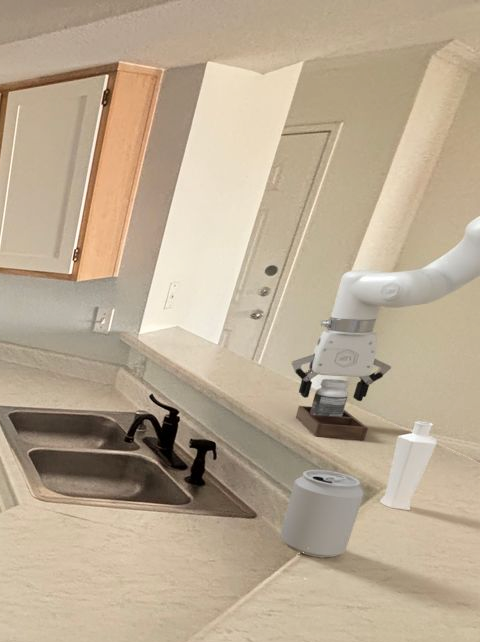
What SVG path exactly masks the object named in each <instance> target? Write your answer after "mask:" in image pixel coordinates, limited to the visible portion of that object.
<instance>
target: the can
mask: <svg viewBox="0 0 480 642" xmlns="http://www.w3.org/2000/svg"><path fill="white" fill-rule="evenodd" d="M361 484H362V483H361V481H360V480H359V479H357V478H356V477H355V476H352V475H350V474H349V475H348V474H346V473H342V472H339V471H338V472H337V471H333V470H325V469H309V470H305V471H303V472H302V476H300V477H298V478H296V479H295V480H294V483H293V485H292V489H291V492H290V493H291V494H290V497H289V501H288V505H287V508H286V511H285V515H284V518H283V522H282V526H281V530H280V533H279V538H280V540H281V541H282V542H283V543H284V544H285V546H287V548H288V549H291V550H293V551H294V552H296V553H299V554H302V553H303V552H304V553H303V555H306V556H309V557H310V556H311V557H314V558H322V559H324V557H330V558H333V557H336V556H339V555H343V554H344V553H345V552H346V550H347V547H348V544H349V542H350V538H351V534H352V533H353V530H354V527H355V526H354V525H355V523H356V521H357V520H356V519H357V516H358V514H359V510H360V507H361V504H362V501H363V498H364V495H365V492H364V491H363V489H362V488H361V487H360V486H361ZM308 548H309V549H308Z"/></svg>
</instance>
